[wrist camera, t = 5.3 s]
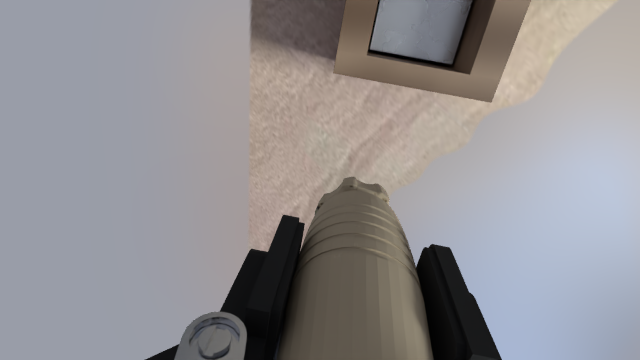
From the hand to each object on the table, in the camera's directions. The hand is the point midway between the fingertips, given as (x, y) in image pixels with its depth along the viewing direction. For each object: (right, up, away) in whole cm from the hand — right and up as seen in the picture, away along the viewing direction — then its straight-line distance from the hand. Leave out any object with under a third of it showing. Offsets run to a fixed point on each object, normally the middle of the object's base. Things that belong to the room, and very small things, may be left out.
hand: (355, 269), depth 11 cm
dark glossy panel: (+7, +16, +14) cm, 22 cm away
